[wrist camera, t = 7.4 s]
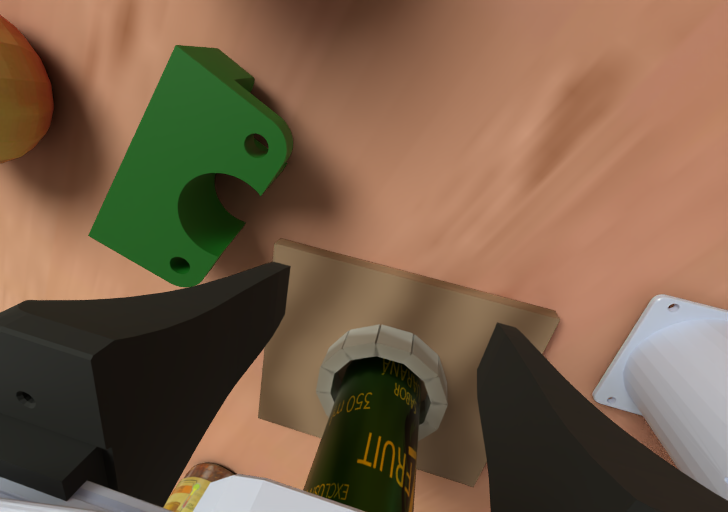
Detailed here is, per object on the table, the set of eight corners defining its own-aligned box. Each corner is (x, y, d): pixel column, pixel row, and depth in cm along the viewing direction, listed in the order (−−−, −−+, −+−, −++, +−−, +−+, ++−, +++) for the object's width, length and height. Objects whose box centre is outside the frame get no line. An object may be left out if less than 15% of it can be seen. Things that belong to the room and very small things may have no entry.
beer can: (386, 417, 26) (349, 633, 16) (332, 373, 26) (254, 566, 15) (438, 381, 24) (437, 603, 13) (380, 331, 24) (329, 522, 13)
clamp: (255, 212, 27) (185, 305, 22) (185, 163, 26) (87, 250, 20) (333, 98, 19) (251, 200, 13) (235, 14, 17) (91, 88, 11)
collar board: (555, 310, 22) (571, 339, 19) (472, 475, 28) (476, 514, 26) (280, 238, 23) (259, 255, 21) (263, 408, 30) (246, 438, 27)
